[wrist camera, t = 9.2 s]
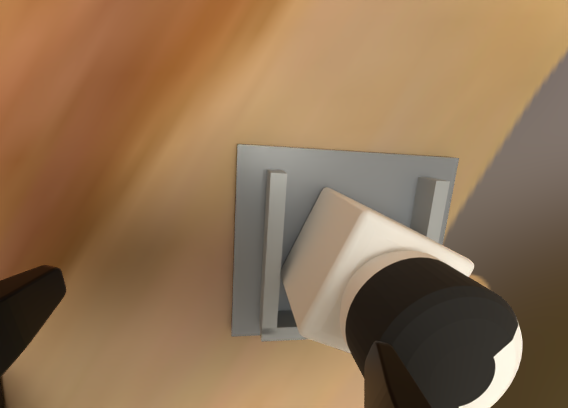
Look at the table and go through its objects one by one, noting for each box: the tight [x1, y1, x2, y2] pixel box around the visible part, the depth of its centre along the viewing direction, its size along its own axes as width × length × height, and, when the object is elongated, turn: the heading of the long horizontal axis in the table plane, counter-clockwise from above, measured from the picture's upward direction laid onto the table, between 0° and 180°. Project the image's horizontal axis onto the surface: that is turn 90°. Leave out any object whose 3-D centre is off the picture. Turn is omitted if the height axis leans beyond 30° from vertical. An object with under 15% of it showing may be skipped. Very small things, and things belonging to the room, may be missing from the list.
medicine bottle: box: [280, 187, 522, 408], centre depth 16 cm, size 7×7×12 cm
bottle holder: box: [232, 144, 459, 341], centre depth 21 cm, size 14×16×3 cm
